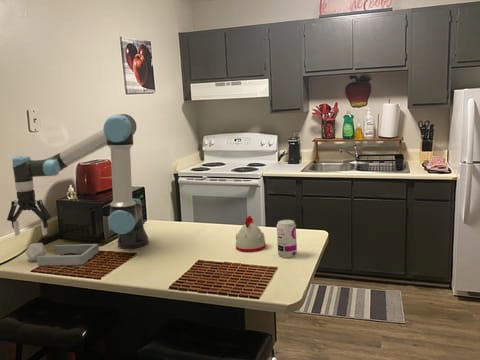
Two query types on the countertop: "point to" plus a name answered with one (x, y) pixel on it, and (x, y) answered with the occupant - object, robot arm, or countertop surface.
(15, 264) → the countertop surface
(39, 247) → the die
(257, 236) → the kitchen timer
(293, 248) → the supplement can
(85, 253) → the channel
